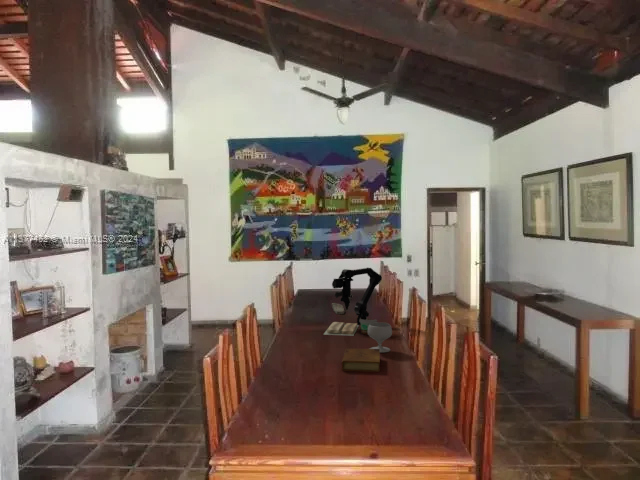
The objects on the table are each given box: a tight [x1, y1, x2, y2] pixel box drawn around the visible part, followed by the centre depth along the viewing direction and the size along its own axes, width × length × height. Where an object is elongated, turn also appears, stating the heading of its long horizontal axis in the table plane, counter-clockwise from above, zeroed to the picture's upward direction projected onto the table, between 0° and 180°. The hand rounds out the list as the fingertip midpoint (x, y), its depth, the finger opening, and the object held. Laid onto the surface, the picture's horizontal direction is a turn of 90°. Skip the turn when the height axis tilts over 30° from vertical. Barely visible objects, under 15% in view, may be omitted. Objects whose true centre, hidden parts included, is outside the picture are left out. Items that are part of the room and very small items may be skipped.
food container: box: [359, 318, 378, 336], centre depth 311 cm, size 12×6×10 cm, turn 62°
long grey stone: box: [331, 302, 346, 315], centre depth 395 cm, size 35×5×10 cm
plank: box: [326, 321, 345, 333], centre depth 324 cm, size 8×24×2 cm, turn 169°
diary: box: [341, 347, 381, 373], centre depth 247 cm, size 23×19×6 cm
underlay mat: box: [323, 324, 360, 337], centre depth 323 cm, size 20×30×1 cm, turn 169°
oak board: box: [341, 322, 358, 334], centre depth 322 cm, size 7×24×2 cm, turn 169°
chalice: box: [368, 321, 393, 353], centre depth 272 cm, size 14×14×15 cm
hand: (346, 309), depth 334 cm, fingers closed
